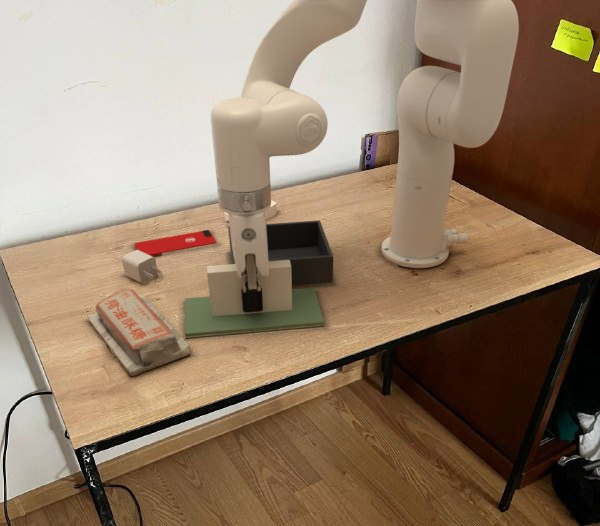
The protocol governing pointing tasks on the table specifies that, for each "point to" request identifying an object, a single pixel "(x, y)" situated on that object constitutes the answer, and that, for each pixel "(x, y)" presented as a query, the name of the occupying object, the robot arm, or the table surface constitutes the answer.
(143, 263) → the usb wall charger
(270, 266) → the board
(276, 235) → the bin
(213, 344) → the table surface
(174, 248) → the electronic device
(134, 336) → the packaged product
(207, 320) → the mat
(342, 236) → the table surface
